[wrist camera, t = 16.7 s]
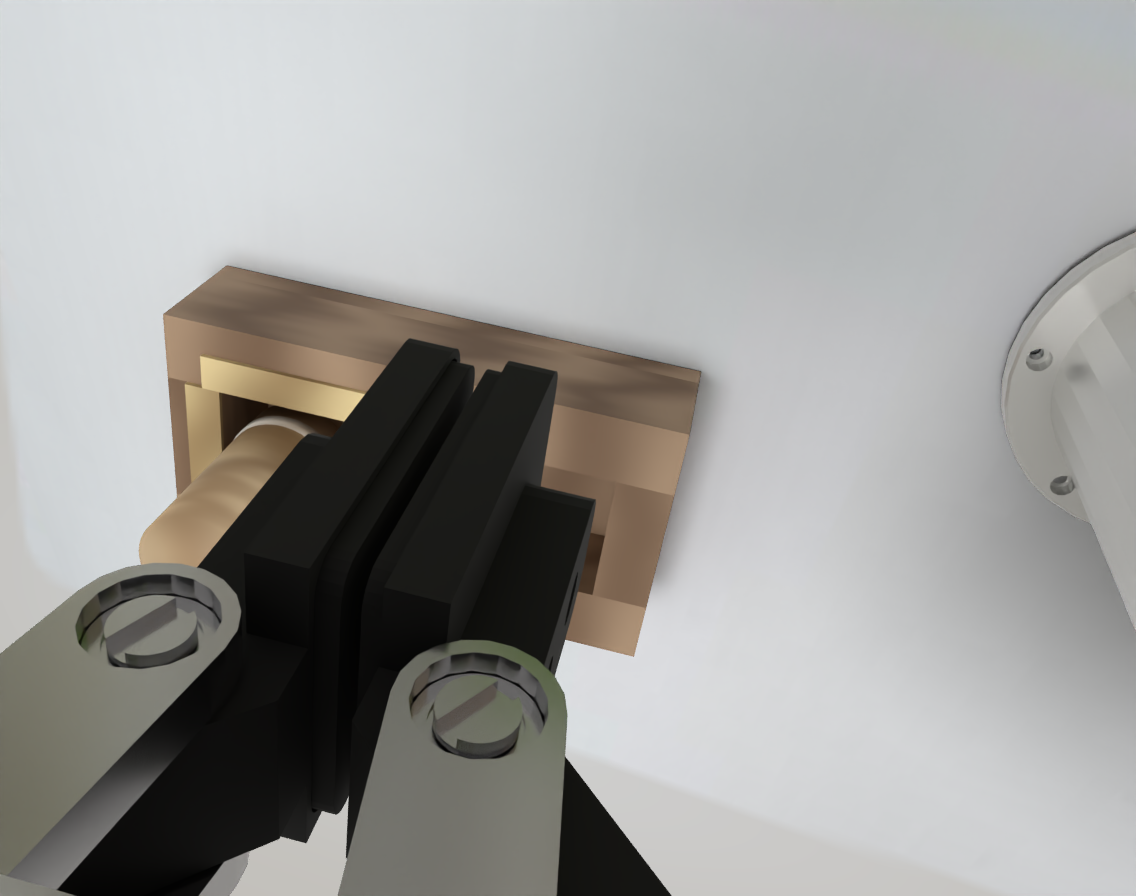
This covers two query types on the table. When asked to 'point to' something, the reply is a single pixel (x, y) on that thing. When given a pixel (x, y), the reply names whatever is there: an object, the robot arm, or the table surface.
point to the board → (581, 408)
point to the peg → (228, 486)
